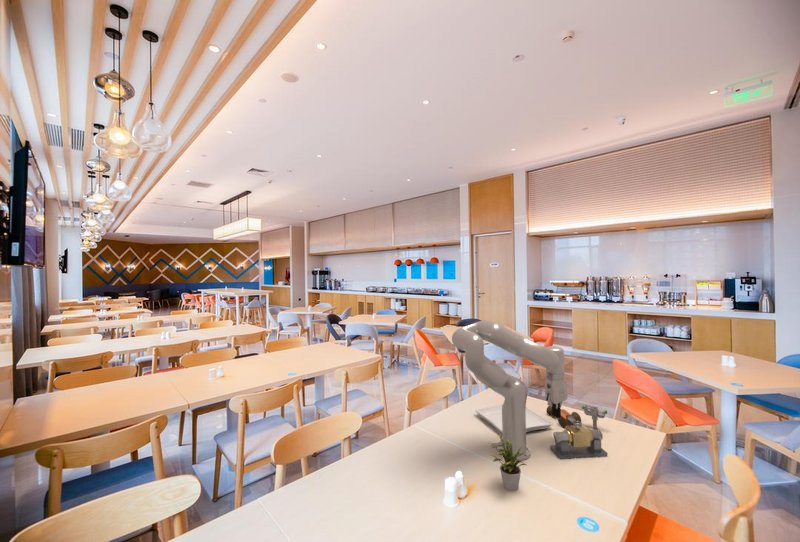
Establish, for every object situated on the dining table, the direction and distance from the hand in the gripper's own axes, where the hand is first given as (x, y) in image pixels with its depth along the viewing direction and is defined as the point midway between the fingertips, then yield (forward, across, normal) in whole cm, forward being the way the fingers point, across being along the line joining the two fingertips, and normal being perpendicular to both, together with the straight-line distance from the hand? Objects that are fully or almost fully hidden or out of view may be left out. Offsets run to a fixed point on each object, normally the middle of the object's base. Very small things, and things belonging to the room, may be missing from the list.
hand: (556, 416), depth 150 cm
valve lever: (+1, +3, -5) cm, 5 cm away
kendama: (+12, +21, +10) cm, 26 cm away
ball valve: (+12, 0, -10) cm, 15 cm away
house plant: (+12, -41, -7) cm, 43 cm away
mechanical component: (+12, +26, -2) cm, 29 cm away
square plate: (+12, 0, +24) cm, 27 cm away
